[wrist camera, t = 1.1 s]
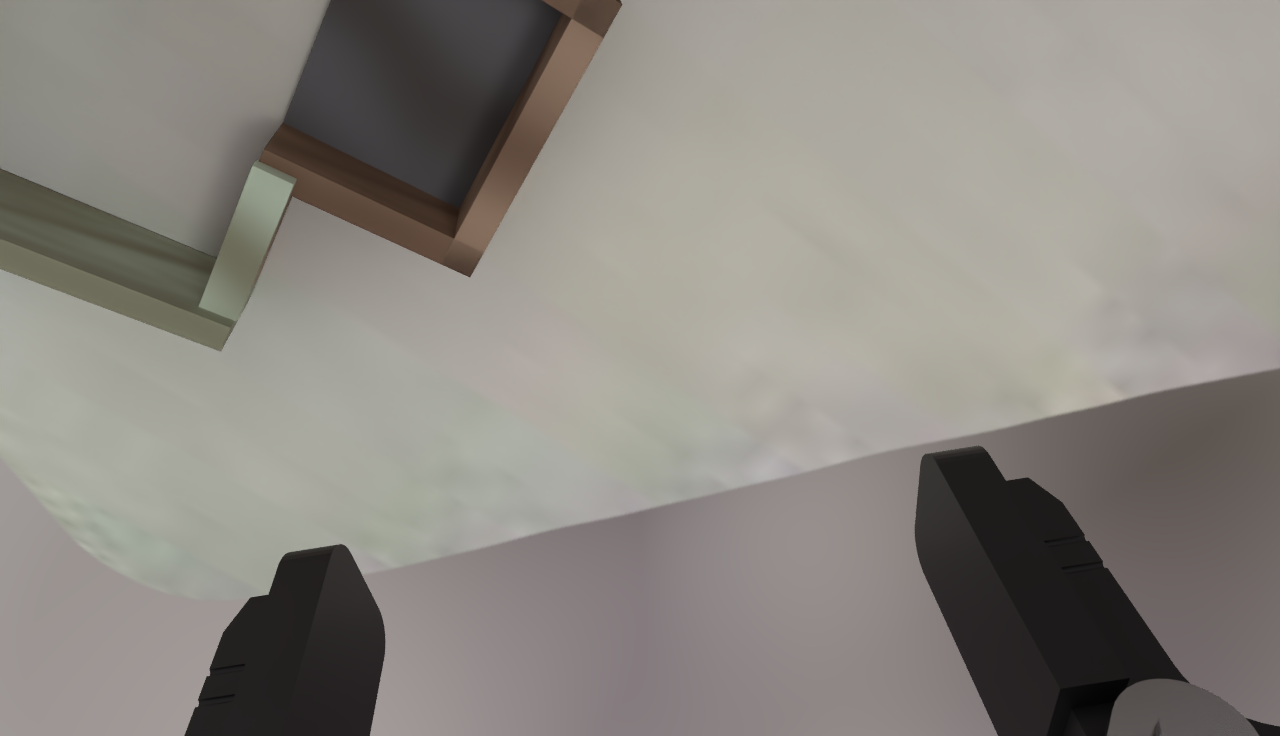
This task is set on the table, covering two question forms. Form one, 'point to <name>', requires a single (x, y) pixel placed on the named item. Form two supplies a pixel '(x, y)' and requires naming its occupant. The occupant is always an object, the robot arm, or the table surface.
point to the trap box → (343, 157)
